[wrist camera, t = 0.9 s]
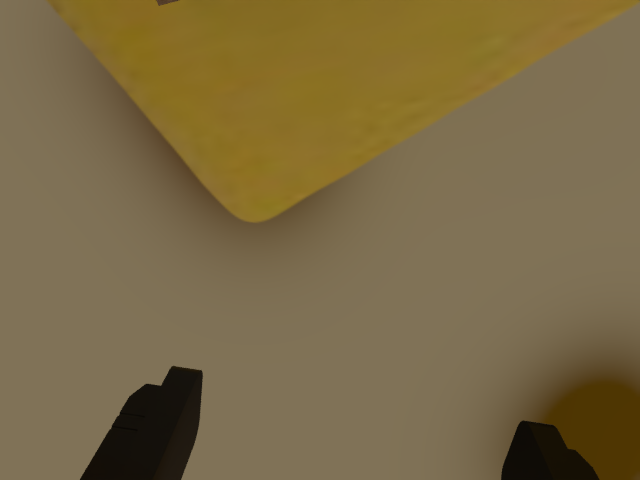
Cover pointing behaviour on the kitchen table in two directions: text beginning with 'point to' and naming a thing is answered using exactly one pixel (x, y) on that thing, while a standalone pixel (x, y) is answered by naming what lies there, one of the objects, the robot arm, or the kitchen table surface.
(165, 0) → the knobbed square tray
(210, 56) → the kitchen table surface
